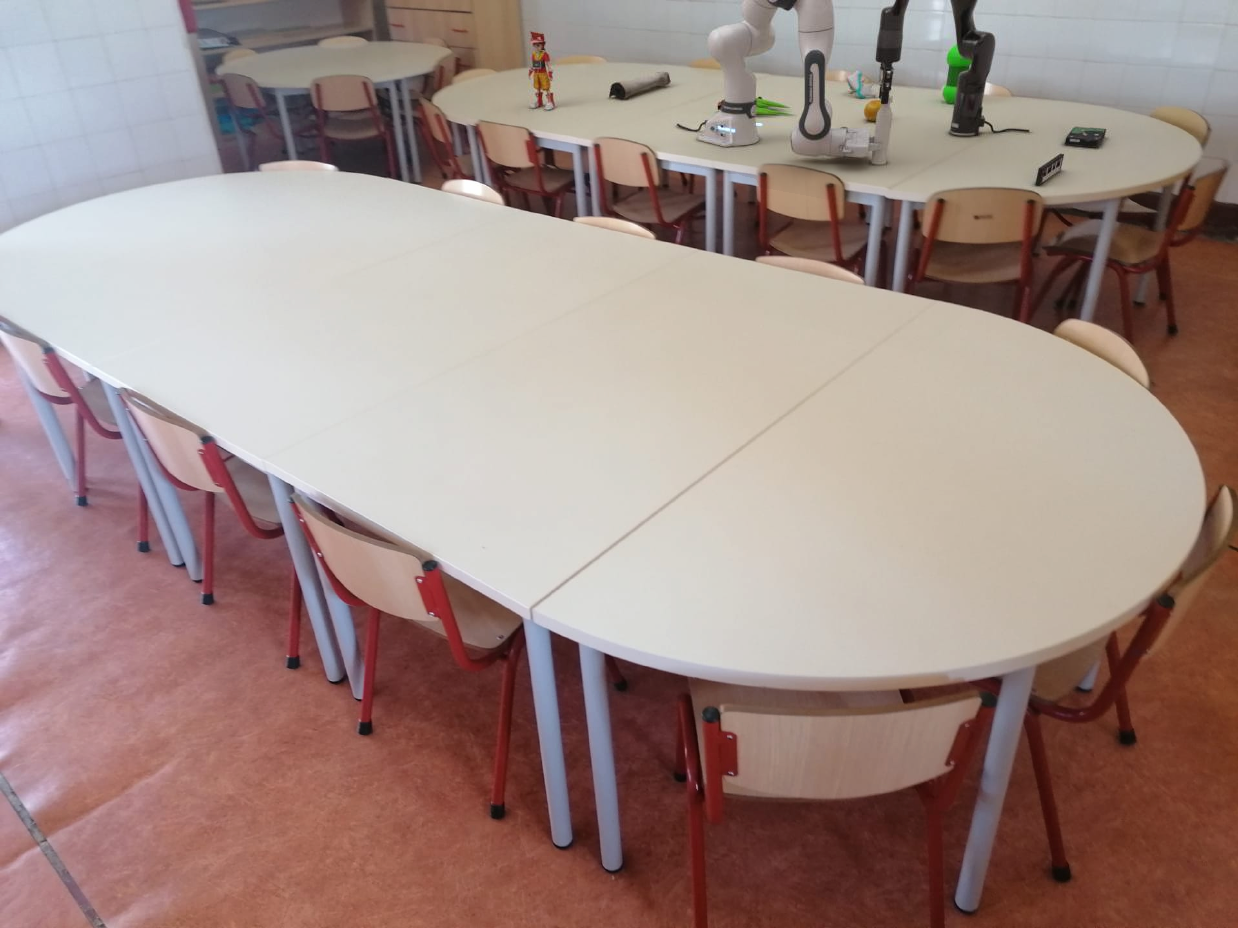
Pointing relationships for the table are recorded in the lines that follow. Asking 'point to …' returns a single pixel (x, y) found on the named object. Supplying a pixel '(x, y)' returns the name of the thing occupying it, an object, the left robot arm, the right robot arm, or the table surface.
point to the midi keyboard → (1049, 169)
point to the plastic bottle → (954, 73)
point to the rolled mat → (638, 84)
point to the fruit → (872, 109)
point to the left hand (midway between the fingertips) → (883, 143)
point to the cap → (889, 99)
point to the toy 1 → (541, 71)
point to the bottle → (882, 134)
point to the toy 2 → (765, 103)
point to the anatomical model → (860, 85)
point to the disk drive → (1085, 136)
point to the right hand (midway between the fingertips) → (883, 101)
